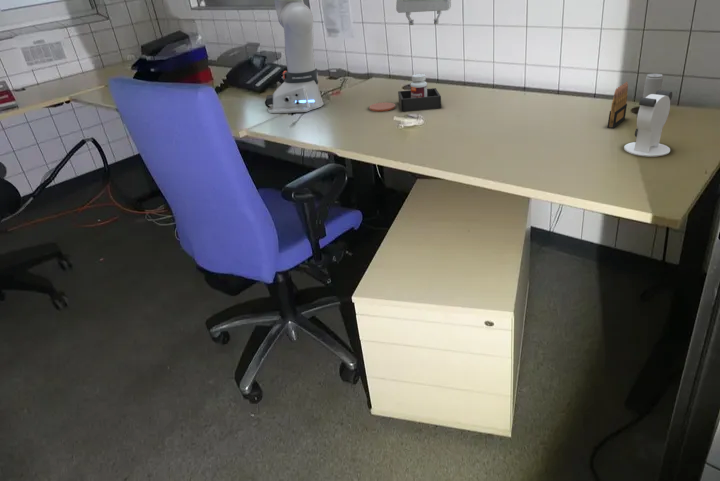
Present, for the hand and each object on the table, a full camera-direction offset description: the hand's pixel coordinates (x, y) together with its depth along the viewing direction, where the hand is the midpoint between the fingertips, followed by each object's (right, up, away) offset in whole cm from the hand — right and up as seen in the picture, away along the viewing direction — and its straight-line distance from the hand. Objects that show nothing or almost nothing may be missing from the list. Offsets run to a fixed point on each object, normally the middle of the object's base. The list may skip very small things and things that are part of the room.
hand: (423, 24), depth 206 cm
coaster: (-15, -31, +3) cm, 35 cm away
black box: (-1, -30, +2) cm, 30 cm away
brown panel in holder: (+57, -45, -34) cm, 80 cm away
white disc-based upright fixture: (+55, -56, -55) cm, 96 cm away
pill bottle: (-1, -30, +2) cm, 30 cm away
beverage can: (+70, -40, -27) cm, 85 cm away
